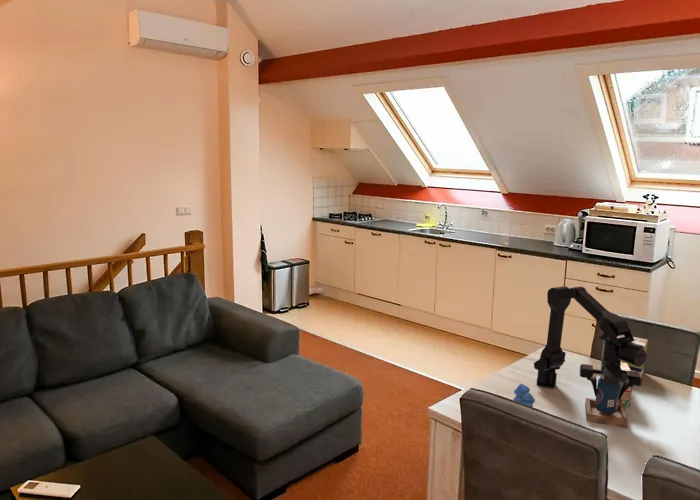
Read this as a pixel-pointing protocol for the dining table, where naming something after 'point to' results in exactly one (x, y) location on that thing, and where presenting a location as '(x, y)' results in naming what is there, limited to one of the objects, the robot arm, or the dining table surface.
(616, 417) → the brown open box
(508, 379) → the dining table surface
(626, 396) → the stack of blocks
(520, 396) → the grapes
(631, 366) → the tea box
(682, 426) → the dining table surface
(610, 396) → the soda can
